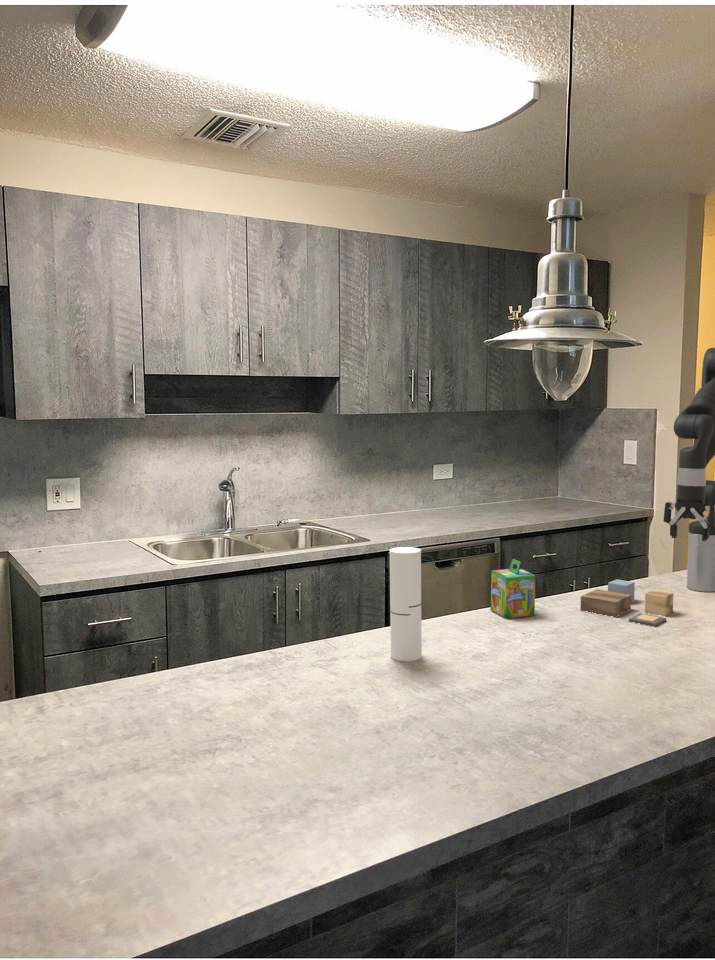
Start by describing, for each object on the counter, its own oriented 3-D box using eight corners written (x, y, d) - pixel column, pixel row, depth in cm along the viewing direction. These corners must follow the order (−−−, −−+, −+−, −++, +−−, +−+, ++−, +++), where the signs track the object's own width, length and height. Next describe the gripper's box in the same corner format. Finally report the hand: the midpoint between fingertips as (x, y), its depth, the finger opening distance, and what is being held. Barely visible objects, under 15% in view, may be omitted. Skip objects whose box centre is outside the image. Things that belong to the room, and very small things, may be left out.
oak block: (652, 609, 213) (653, 589, 212) (672, 612, 209) (673, 592, 208) (644, 613, 209) (645, 593, 208) (665, 617, 205) (665, 596, 204)
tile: (640, 616, 206) (640, 612, 206) (666, 620, 201) (666, 617, 201) (628, 621, 201) (629, 618, 201) (655, 626, 196) (655, 623, 196)
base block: (596, 604, 219) (597, 589, 218) (630, 610, 212) (631, 594, 212) (580, 612, 212) (580, 596, 211) (615, 618, 205) (615, 602, 204)
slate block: (616, 597, 225) (616, 579, 225) (634, 600, 221) (634, 582, 221) (607, 601, 221) (608, 582, 221) (626, 604, 217) (626, 585, 217)
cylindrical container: (427, 658, 175) (426, 551, 172) (398, 663, 172) (397, 554, 170) (413, 649, 182) (412, 546, 179) (385, 653, 179) (384, 548, 176)
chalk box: (489, 610, 213) (489, 558, 212) (519, 607, 216) (519, 556, 215) (505, 619, 205) (506, 565, 203) (536, 616, 207) (536, 562, 206)
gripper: (721, 484, 218) (719, 540, 220) (671, 481, 228) (669, 535, 229) (713, 486, 213) (710, 543, 214) (661, 482, 222) (659, 538, 224)
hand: (689, 539), depth 222 cm, fingers open, 8 cm apart
